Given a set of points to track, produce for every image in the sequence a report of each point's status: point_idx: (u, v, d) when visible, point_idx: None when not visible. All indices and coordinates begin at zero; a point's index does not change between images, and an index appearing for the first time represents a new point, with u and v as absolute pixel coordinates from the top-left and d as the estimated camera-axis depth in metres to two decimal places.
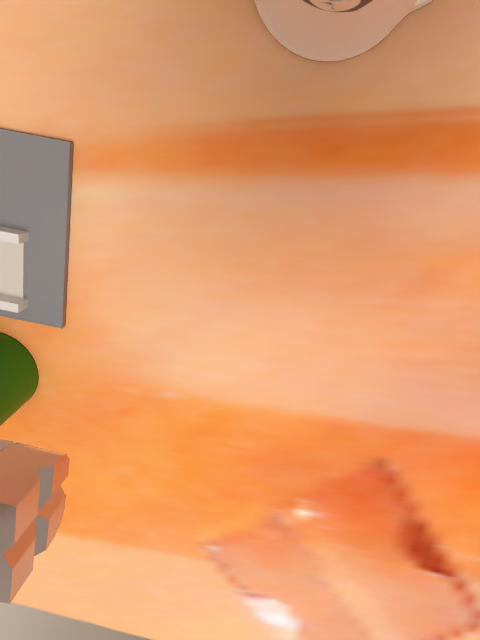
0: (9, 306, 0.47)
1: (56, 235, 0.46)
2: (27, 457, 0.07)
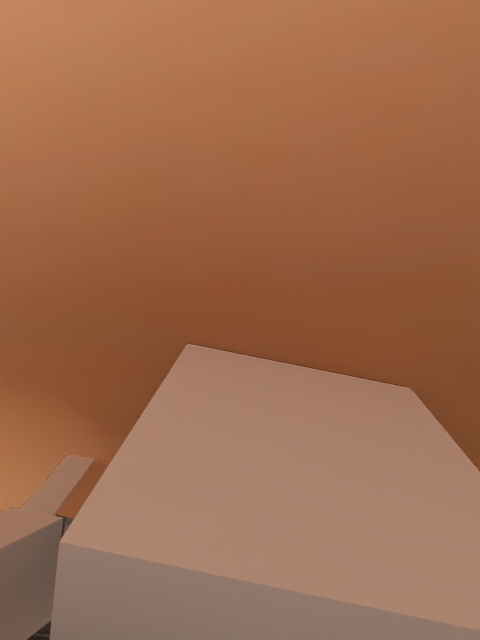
0: None
1: None
2: None
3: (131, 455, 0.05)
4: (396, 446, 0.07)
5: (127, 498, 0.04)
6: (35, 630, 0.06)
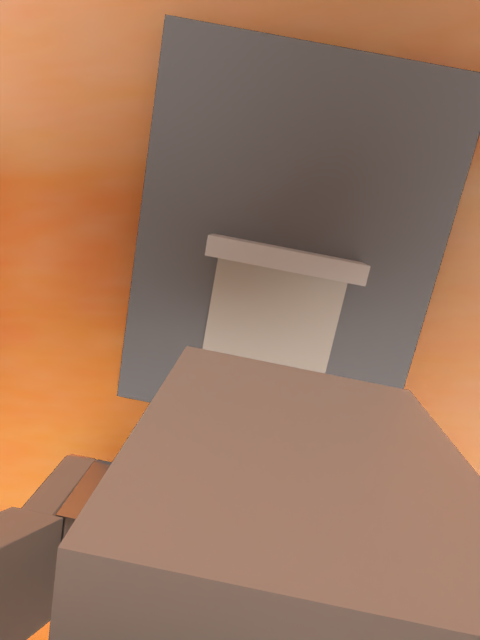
0: None
1: (418, 269, 0.23)
2: None
3: (130, 459, 0.05)
4: (396, 449, 0.07)
5: (126, 501, 0.04)
6: (35, 630, 0.06)
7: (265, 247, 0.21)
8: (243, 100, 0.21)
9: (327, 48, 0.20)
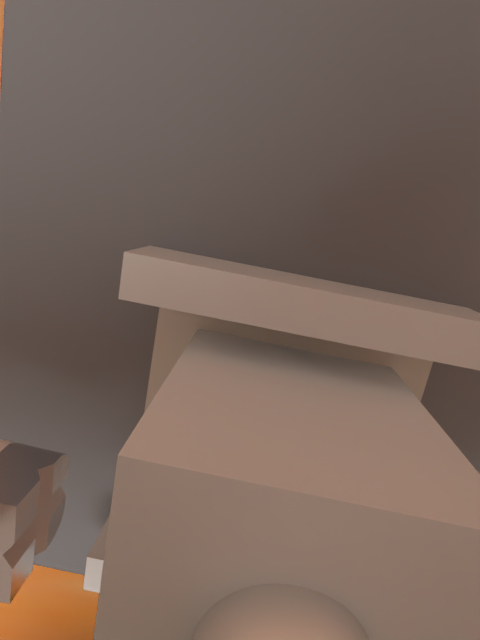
0: None
1: None
2: (27, 457, 0.07)
3: (161, 406, 0.07)
4: (375, 407, 0.08)
5: (161, 432, 0.06)
6: None
7: (260, 281, 0.09)
8: None
9: None
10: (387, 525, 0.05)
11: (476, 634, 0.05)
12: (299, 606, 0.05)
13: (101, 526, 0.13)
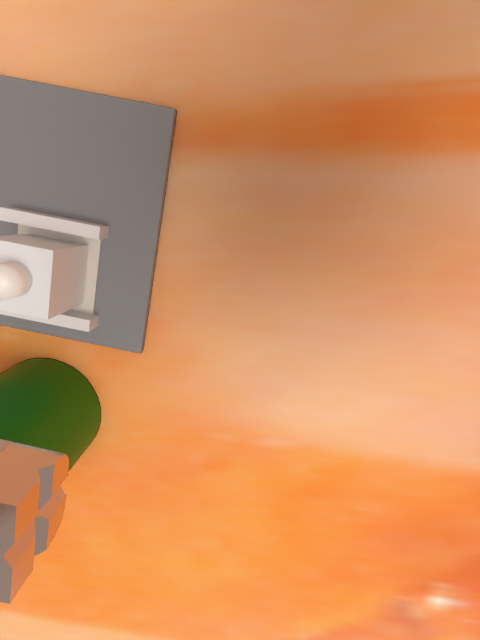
0: (77, 323, 0.35)
1: (145, 231, 0.35)
2: (27, 457, 0.07)
3: None
4: (58, 244, 0.33)
5: None
6: None
7: (35, 214, 0.33)
8: (24, 122, 0.34)
9: (71, 91, 0.33)
10: (29, 248, 0.30)
11: (48, 271, 0.30)
12: (14, 262, 0.30)
13: None
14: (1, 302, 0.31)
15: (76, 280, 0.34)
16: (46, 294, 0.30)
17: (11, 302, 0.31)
